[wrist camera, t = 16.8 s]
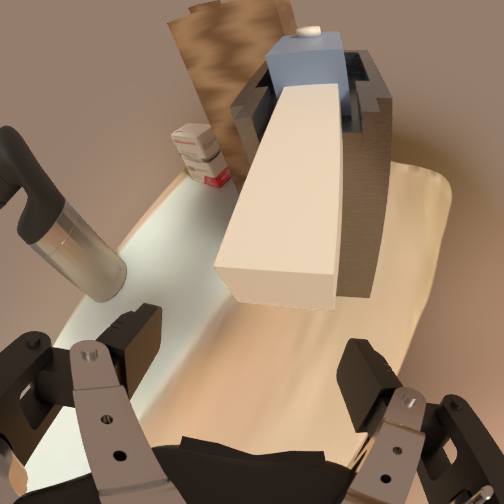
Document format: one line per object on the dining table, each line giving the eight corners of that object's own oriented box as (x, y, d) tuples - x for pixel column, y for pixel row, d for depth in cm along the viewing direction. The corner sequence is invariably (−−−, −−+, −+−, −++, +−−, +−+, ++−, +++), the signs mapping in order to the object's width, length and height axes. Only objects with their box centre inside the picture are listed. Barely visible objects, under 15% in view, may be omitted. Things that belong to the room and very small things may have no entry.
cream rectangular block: (221, 299, 11) (139, 189, 6) (294, 82, 22) (280, 28, 18) (353, 312, 9) (365, 178, 4) (346, 79, 20) (337, 23, 16)
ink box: (235, 173, 53) (215, 123, 44) (219, 189, 51) (195, 138, 42) (207, 165, 58) (186, 121, 49) (191, 180, 56) (168, 135, 47)
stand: (246, 211, 46) (164, 16, 20) (260, 170, 52) (202, 5, 26) (318, 211, 41) (269, -16, 16) (323, 168, 47) (285, -15, 22)
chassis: (288, 306, 34) (218, 122, 15) (305, 216, 42) (268, 56, 23) (368, 312, 30) (398, 113, 11) (369, 218, 38) (367, 50, 19)
